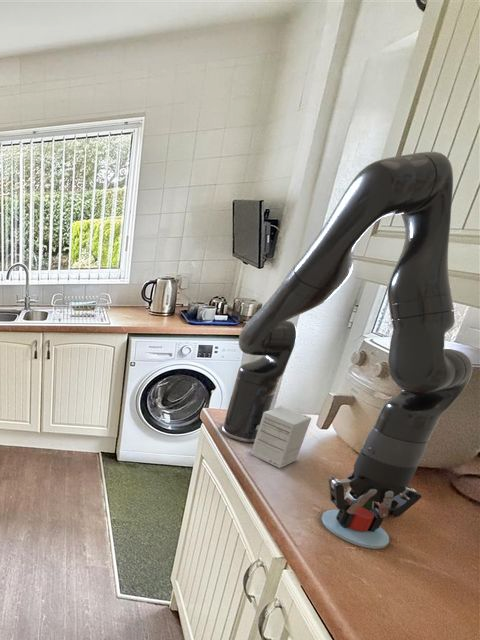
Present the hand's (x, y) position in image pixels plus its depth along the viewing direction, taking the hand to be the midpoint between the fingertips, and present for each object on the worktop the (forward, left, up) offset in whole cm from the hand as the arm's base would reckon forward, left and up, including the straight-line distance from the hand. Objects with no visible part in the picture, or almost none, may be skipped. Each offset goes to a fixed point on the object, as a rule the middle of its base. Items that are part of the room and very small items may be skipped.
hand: (355, 526), depth 80 cm
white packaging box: (-25, -5, -1) cm, 26 cm away
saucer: (0, 0, -1) cm, 1 cm away
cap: (0, 0, 0) cm, 0 cm away
